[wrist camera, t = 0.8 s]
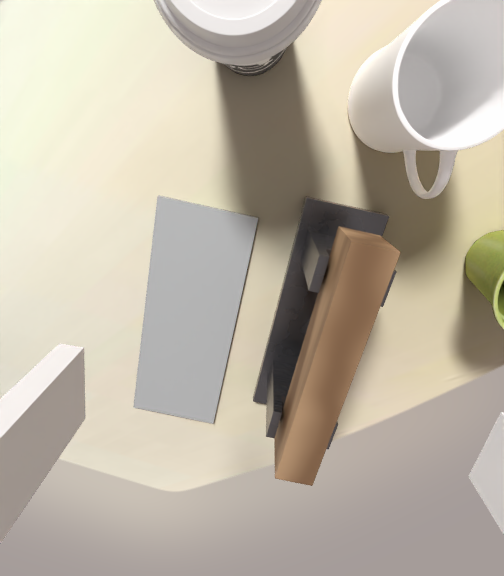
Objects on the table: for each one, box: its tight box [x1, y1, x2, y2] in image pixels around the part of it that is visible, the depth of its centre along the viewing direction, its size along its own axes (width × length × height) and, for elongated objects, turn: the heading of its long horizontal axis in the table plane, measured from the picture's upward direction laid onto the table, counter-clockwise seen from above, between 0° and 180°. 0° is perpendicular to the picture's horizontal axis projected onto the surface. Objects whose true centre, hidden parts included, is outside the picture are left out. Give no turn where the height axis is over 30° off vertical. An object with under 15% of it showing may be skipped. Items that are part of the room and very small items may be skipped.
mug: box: [348, 0, 504, 199], centre depth 27 cm, size 12×8×12 cm
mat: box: [134, 196, 258, 423], centre depth 40 cm, size 10×26×1 cm, turn 168°
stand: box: [253, 196, 396, 449], centre depth 35 cm, size 8×24×9 cm, turn 168°
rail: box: [275, 226, 401, 486], centre depth 31 cm, size 3×22×5 cm, turn 168°
